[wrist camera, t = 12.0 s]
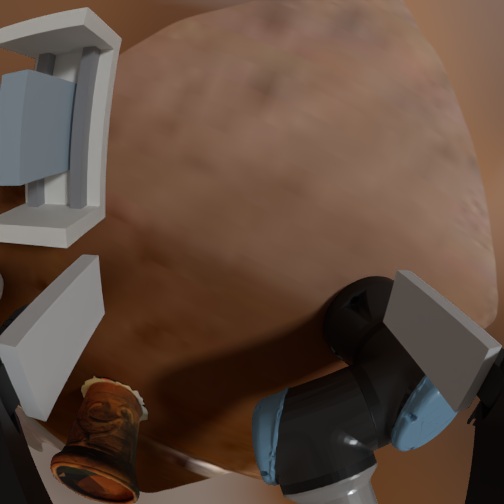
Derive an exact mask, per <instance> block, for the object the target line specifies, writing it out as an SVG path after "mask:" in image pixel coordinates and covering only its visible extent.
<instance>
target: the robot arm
mask: <svg viewBox="0 0 504 504" xmlns="http://www.w3.org/2000/svg"><path fill="white" fill-rule="evenodd" d="M104 314H105V312H104V304H103V297H102V288H101V279H100V268H99V256H98V255H81V256H80V257H79V258H78V259H77V260H76V261H75V262H74V263H73V264H71V265H70V266H69V267H68V268H67V269H66V270H65V271H64V272H63V273H62V274H61V275H60V276H58V277H57V278H56V279H55V280H54V281H53V282H52V283H51V284H50V285H49V286H48V287H47V288H46V289H45V290H44V291H43V292H42V293H41V294H40V295H39V296H38V297H37V298H36V299H35V300H34V301H33V302H32V303H31V304H30V305H25V306H23V307H22V308H20V309H18V310H16V311H15V312H14V313H13V314H12V315H11V316H10V317H9V318H8V320H6V321H5V322H4V323H3V324H2V326H0V504H53V503H52V501H51V500H50V497H49V495H48V493H47V491H46V489H45V486H44V484H43V482H42V480H41V477H40V475H39V473H38V470H37V468H36V466H35V463H34V461H33V458H32V456H31V453H30V450H29V448H28V445H27V442H26V439H25V436H24V433H23V430H22V427H21V424H20V421H19V418H18V416H17V414H16V412H15V409H16V407H17V406H18V404H19V402H20V404H21V406H22V408H23V410H24V412H25V414H26V416H29V417H32V418H36V419H39V420H42V421H47V419H48V416H49V414H50V412H51V410H52V408H53V406H54V404H55V402H56V400H57V398H58V396H59V394H60V392H61V390H62V389H63V387H64V385H65V383H66V381H67V379H68V377H69V375H70V373H71V372H72V370H73V368H74V366H75V364H76V362H77V361H78V359H79V357H80V355H81V353H82V352H83V350H84V348H85V346H86V345H87V343H88V341H89V339H90V338H91V336H92V334H93V332H94V331H95V329H96V327H97V326H98V324H99V322H100V321H101V319H102V317H103V316H104ZM323 332H324V337H325V340H326V342H327V344H328V346H329V348H330V349H331V351H332V352H333V353H334V354H335V355H336V356H337V357H338V358H339V359H341V360H343V361H344V362H345V363H346V364H348V365H349V366H348V367H345V368H343V369H340V370H338V371H336V372H333V373H331V374H328V375H325V376H323V377H320V378H317V379H315V380H312V381H309V382H306V383H304V384H301V385H298V386H295V387H292V388H291V387H287V388H285V389H284V390H283V391H281V392H278V393H276V394H273V395H270V396H268V397H265V398H263V399H261V400H260V401H259V402H258V403H257V405H256V406H255V408H254V412H253V417H252V439H253V447H254V453H255V458H256V462H257V466H258V468H259V470H260V472H261V476H262V478H263V480H264V482H266V483H267V484H269V485H274V486H275V485H278V484H280V487H281V490H282V493H283V496H284V497H285V498H288V499H290V500H292V501H294V502H297V503H298V504H378V503H377V500H376V497H375V494H374V491H373V489H372V486H371V483H370V479H371V476H372V474H373V472H374V470H375V468H376V467H377V461H376V459H375V456H374V453H373V451H374V450H376V449H378V448H381V447H383V446H385V445H388V444H390V443H392V445H393V446H394V447H395V448H397V449H398V450H400V451H408V450H409V449H416V448H418V447H420V446H422V445H424V444H425V443H427V442H428V441H430V440H431V439H433V438H434V437H435V436H437V435H438V434H439V433H440V432H441V431H442V430H443V429H444V428H445V427H446V426H447V425H448V424H449V423H450V422H451V421H452V420H453V418H454V417H455V416H456V415H457V413H458V412H459V411H462V410H464V409H467V408H469V407H470V405H471V403H472V402H473V400H474V398H475V397H476V395H477V396H478V397H479V398H480V402H479V404H478V405H477V407H476V408H475V410H474V412H473V413H472V415H471V416H470V418H469V419H468V422H467V424H470V422H471V421H472V419H474V418H476V420H475V422H474V423H473V425H474V426H475V437H474V448H473V457H472V465H471V472H470V478H469V484H468V490H467V496H466V500H465V504H504V349H503V348H502V346H501V345H500V344H499V343H498V342H497V341H496V340H495V339H494V338H492V337H491V336H490V335H489V334H488V333H487V332H486V331H484V330H483V329H482V328H481V327H480V326H479V325H477V324H476V323H475V322H474V321H473V320H472V319H470V318H469V317H468V316H467V315H466V314H464V313H463V312H462V311H461V310H460V309H458V308H457V307H456V306H455V305H453V304H452V303H451V302H450V301H448V300H447V299H446V298H445V297H443V296H442V295H441V294H440V293H438V292H437V291H436V290H435V289H433V288H432V287H431V286H429V285H428V284H427V283H426V282H424V281H423V280H422V279H420V278H419V277H418V276H416V275H415V274H414V273H413V272H411V271H410V270H397V272H396V276H395V280H394V281H393V280H392V279H389V278H386V277H381V276H374V277H368V278H364V279H361V280H359V281H357V282H355V283H353V284H351V285H350V286H348V287H347V288H345V289H344V290H343V291H342V292H341V293H340V294H339V295H338V296H337V297H336V298H335V299H334V301H333V302H332V303H331V305H330V307H329V309H328V311H327V313H326V315H325V319H324V324H323Z"/></svg>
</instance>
